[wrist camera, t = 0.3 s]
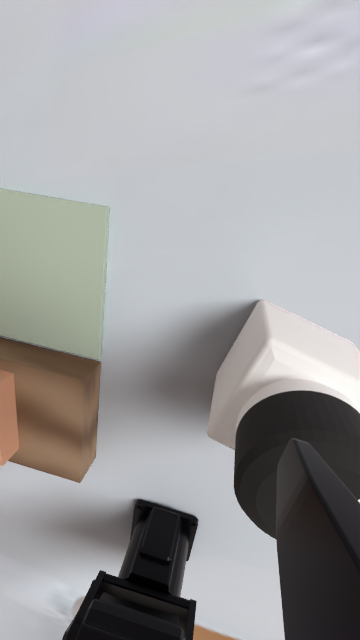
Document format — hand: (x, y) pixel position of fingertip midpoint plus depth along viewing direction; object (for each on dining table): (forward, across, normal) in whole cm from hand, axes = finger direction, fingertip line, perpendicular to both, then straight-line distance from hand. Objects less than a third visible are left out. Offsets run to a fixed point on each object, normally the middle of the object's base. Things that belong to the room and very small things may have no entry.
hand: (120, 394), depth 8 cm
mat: (+14, +17, +3) cm, 22 cm away
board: (+14, +16, +15) cm, 26 cm away
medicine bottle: (+14, -7, +4) cm, 17 cm away
